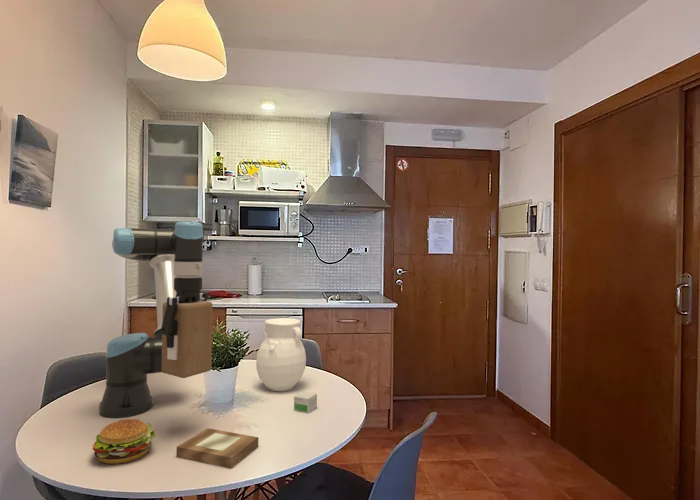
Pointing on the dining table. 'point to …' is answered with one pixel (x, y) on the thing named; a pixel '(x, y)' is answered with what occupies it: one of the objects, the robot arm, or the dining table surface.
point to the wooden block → (190, 340)
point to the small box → (305, 402)
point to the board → (217, 447)
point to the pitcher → (281, 354)
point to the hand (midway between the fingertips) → (187, 354)
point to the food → (123, 441)
